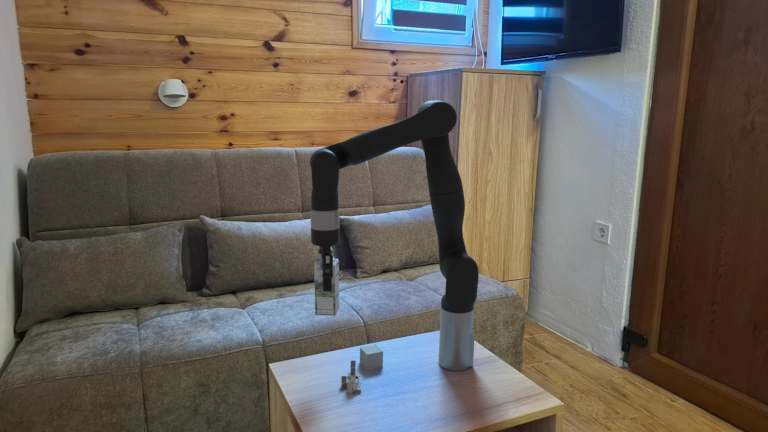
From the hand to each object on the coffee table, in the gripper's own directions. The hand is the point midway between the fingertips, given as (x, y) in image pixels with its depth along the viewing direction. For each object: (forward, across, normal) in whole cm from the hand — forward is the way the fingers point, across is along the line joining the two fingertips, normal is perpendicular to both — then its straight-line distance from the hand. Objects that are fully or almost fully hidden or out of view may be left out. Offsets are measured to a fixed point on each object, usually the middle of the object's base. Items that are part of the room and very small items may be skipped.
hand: (326, 286), depth 144 cm
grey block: (+26, +3, -13) cm, 29 cm away
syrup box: (+8, 0, 0) cm, 8 cm away
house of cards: (+26, -7, -4) cm, 27 cm away
